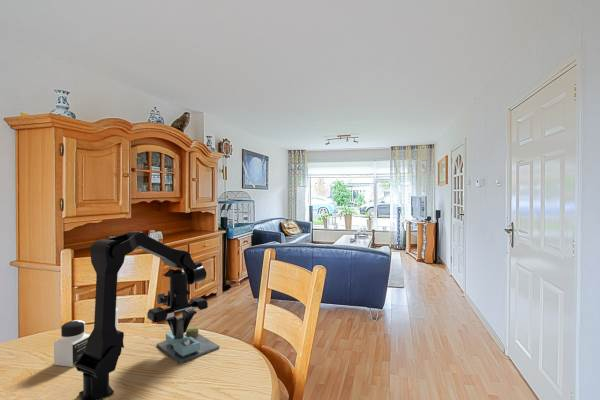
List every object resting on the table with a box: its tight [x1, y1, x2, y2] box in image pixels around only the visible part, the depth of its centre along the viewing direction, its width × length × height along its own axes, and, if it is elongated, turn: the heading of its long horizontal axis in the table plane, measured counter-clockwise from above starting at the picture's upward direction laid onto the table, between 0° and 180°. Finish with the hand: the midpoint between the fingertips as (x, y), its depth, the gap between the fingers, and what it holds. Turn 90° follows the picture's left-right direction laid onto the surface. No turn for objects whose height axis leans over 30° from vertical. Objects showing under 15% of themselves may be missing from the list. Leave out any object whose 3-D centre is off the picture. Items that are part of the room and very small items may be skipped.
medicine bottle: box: [53, 319, 91, 368], centre depth 101 cm, size 7×7×12 cm
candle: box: [115, 307, 119, 331], centre depth 116 cm, size 6×6×15 cm
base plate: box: [156, 322, 220, 365], centre depth 110 cm, size 17×14×5 cm
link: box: [165, 317, 200, 356], centre depth 108 cm, size 14×6×8 cm, turn 46°
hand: (179, 334), depth 109 cm, fingers closed on link, 3 cm apart
